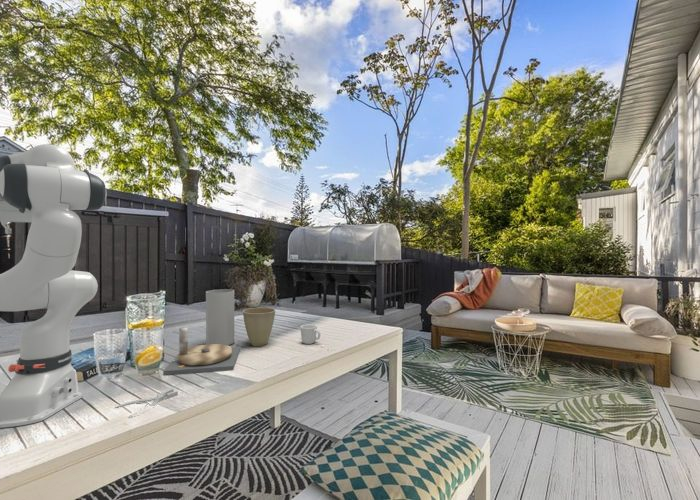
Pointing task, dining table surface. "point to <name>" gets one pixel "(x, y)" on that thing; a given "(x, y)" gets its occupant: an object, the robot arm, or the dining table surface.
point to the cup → (309, 333)
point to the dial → (201, 351)
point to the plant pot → (258, 324)
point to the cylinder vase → (220, 317)
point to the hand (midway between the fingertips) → (26, 233)
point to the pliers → (157, 399)
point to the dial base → (219, 366)
